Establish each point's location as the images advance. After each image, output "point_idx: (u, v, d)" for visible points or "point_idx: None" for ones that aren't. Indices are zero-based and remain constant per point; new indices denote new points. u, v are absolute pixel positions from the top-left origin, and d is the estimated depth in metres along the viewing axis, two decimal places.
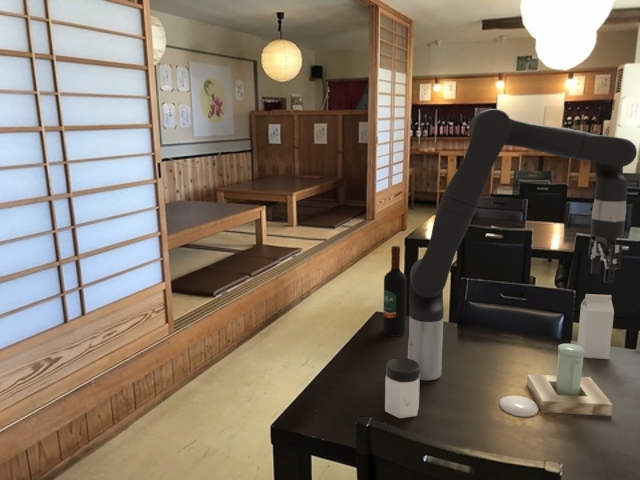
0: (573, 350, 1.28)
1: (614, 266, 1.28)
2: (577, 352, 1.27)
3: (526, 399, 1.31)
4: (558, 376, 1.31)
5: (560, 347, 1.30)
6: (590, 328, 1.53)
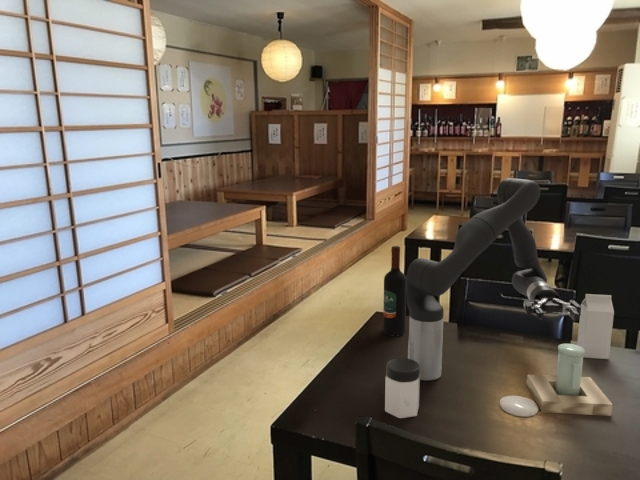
0: (573, 350, 1.28)
1: None
2: (577, 352, 1.27)
3: (526, 399, 1.31)
4: (558, 376, 1.31)
5: (560, 347, 1.30)
6: (590, 328, 1.53)
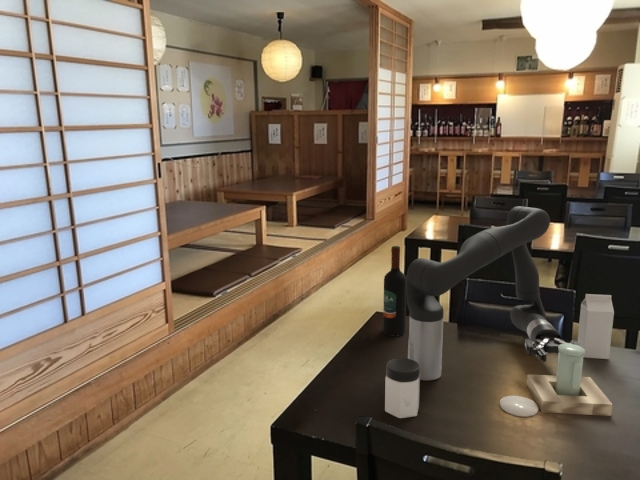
0: (573, 350, 1.28)
1: None
2: (577, 352, 1.27)
3: (526, 399, 1.31)
4: (558, 376, 1.31)
5: (560, 347, 1.30)
6: (590, 328, 1.53)
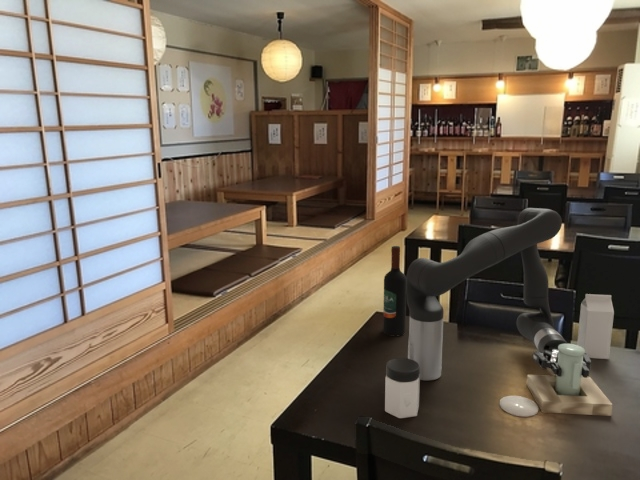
0: (573, 350, 1.28)
1: None
2: (577, 352, 1.27)
3: (526, 399, 1.31)
4: (558, 376, 1.31)
5: (560, 347, 1.30)
6: (590, 328, 1.53)
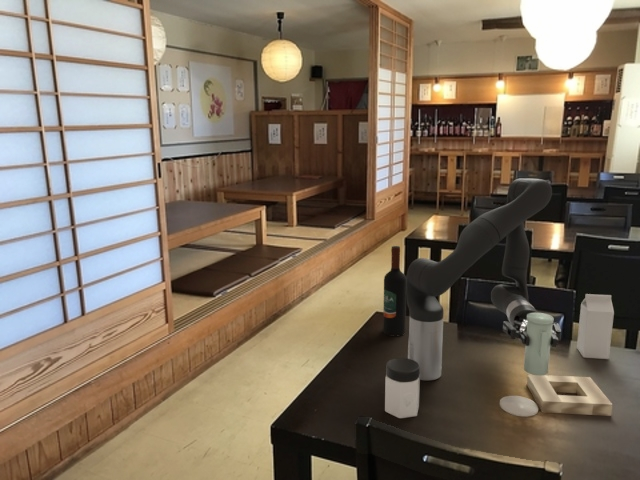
0: (542, 318, 1.24)
1: None
2: (546, 320, 1.23)
3: (526, 399, 1.31)
4: (527, 346, 1.26)
5: (529, 316, 1.26)
6: (590, 328, 1.53)
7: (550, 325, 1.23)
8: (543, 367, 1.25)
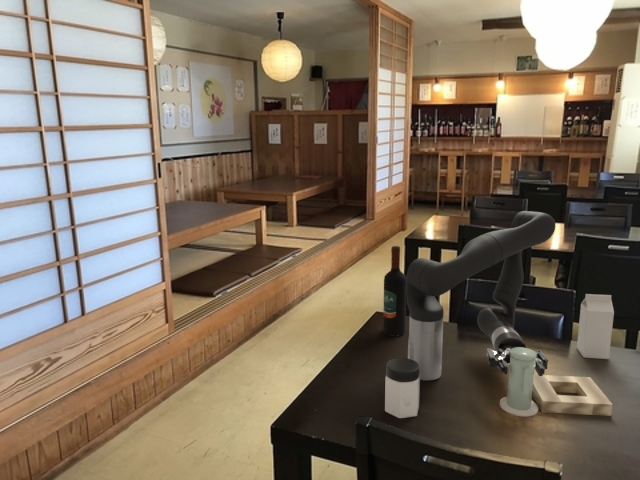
0: (524, 354, 1.25)
1: None
2: (528, 356, 1.23)
3: None
4: (510, 380, 1.27)
5: (512, 351, 1.26)
6: (590, 328, 1.53)
7: (533, 361, 1.24)
8: (525, 402, 1.26)
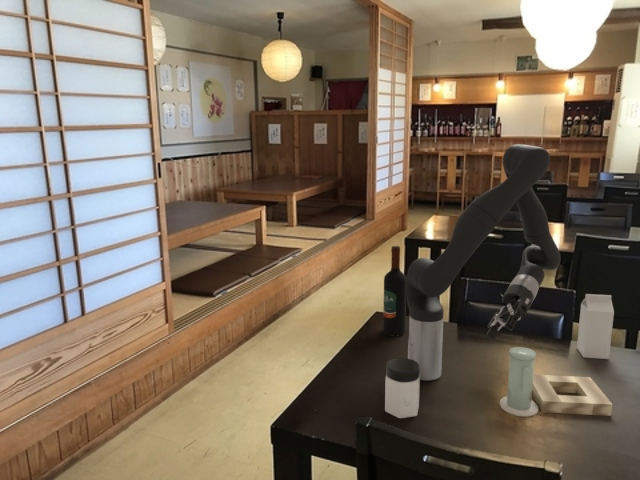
0: (524, 354, 1.25)
1: (521, 310, 1.35)
2: (528, 356, 1.24)
3: None
4: (509, 380, 1.27)
5: (511, 351, 1.27)
6: (590, 328, 1.53)
7: (532, 361, 1.24)
8: (525, 402, 1.26)
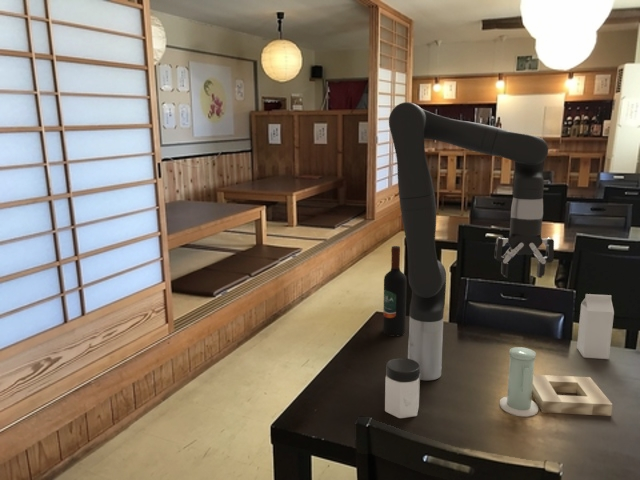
0: (524, 354, 1.25)
1: (495, 257, 1.35)
2: (528, 356, 1.24)
3: None
4: (509, 380, 1.27)
5: (511, 351, 1.27)
6: (590, 328, 1.53)
7: (532, 361, 1.24)
8: (525, 402, 1.26)
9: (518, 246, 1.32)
